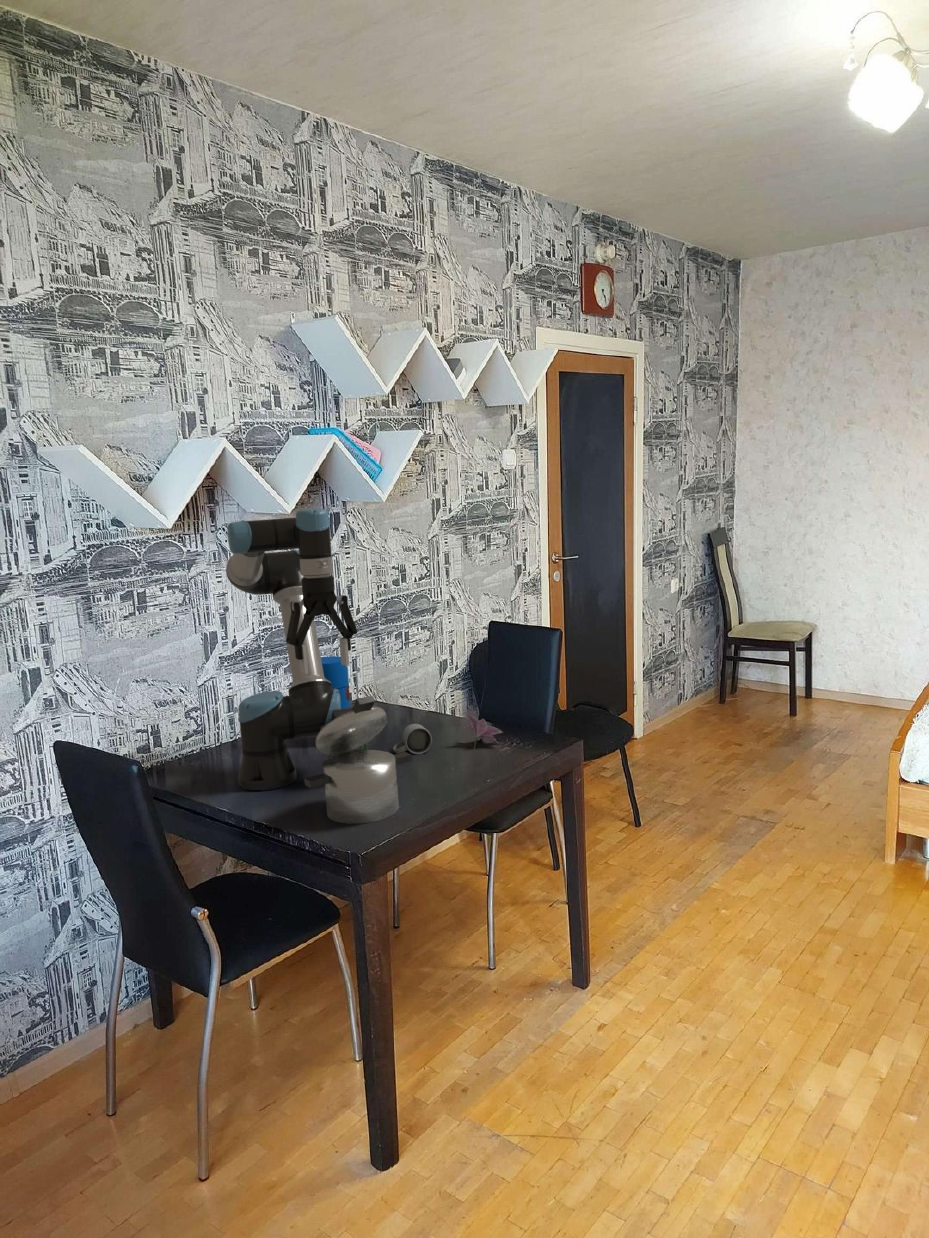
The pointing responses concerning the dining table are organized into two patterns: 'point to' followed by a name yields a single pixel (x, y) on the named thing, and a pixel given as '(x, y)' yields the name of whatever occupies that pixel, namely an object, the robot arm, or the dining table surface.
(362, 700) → the pot lid
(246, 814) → the dining table surface
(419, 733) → the ceramic mug
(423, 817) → the dining table surface
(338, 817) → the steel pot
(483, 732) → the lily
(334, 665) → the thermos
